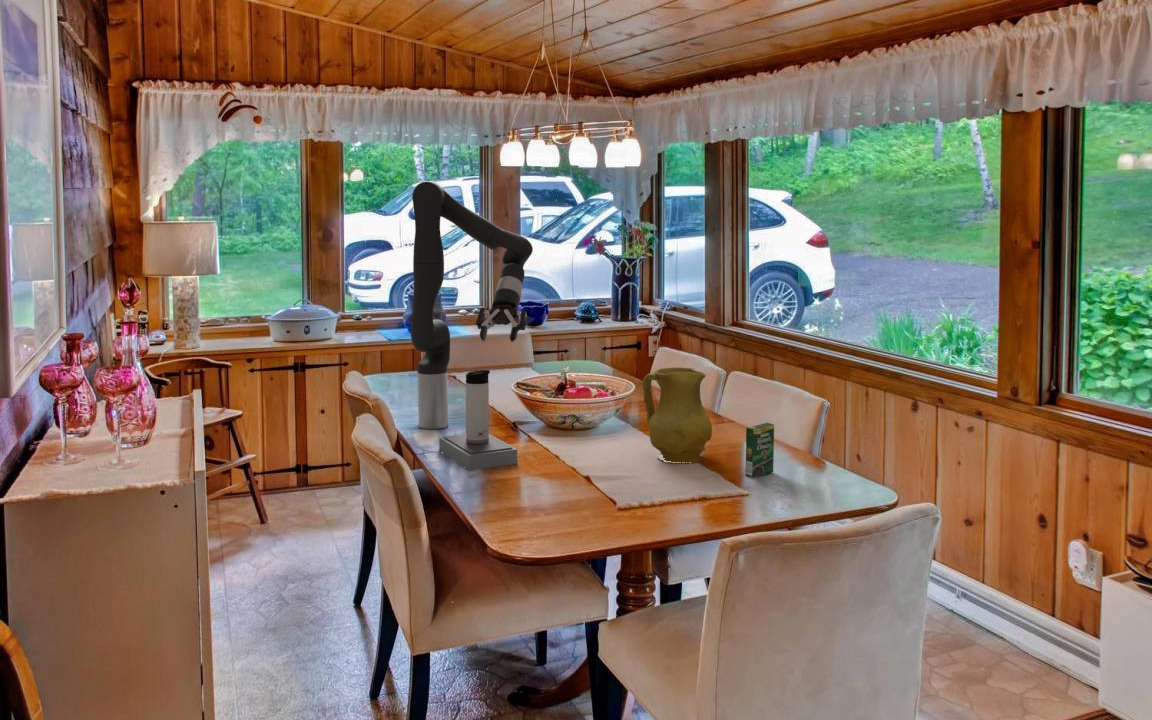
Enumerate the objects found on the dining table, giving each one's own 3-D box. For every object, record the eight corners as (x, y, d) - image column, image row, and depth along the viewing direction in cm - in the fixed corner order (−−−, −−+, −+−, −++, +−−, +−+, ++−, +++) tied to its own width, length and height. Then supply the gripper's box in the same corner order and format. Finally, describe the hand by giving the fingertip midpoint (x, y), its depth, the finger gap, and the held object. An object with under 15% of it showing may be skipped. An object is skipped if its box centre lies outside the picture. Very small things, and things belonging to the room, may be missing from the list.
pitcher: (671, 468, 260) (672, 374, 257) (634, 455, 277) (635, 366, 274) (724, 462, 268) (725, 370, 265) (685, 449, 285) (687, 363, 282)
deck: (439, 451, 279) (439, 436, 278) (485, 445, 285) (484, 430, 285) (469, 470, 260) (468, 454, 259) (517, 463, 266) (517, 447, 266)
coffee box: (752, 478, 253) (753, 428, 251) (744, 475, 255) (745, 426, 253) (773, 473, 258) (775, 424, 255) (765, 470, 260) (767, 422, 258)
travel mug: (486, 445, 268) (486, 372, 265) (463, 443, 270) (462, 371, 266) (492, 439, 274) (492, 368, 271) (469, 438, 276) (469, 367, 272)
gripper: (481, 286, 289) (470, 331, 280) (528, 287, 286) (518, 332, 277) (487, 302, 295) (476, 346, 286) (533, 303, 292) (523, 348, 283)
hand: (497, 339), depth 282 cm, fingers open, 8 cm apart
